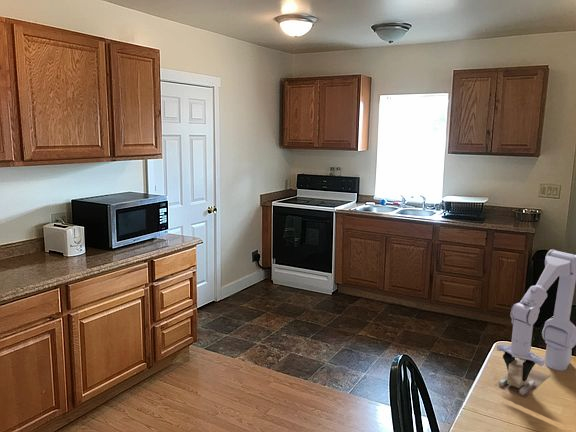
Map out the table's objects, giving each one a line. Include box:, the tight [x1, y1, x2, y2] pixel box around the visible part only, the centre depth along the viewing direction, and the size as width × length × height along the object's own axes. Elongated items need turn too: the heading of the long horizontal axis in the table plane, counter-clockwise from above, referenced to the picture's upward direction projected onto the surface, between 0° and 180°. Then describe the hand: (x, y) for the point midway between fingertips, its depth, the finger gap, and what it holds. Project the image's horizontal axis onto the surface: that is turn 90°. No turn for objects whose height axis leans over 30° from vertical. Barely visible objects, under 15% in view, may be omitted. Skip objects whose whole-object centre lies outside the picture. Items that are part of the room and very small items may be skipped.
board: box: [494, 368, 550, 399], centre depth 161 cm, size 20×10×3 cm, turn 131°
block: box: [507, 358, 527, 388], centre depth 158 cm, size 4×6×7 cm, turn 131°
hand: (517, 377), depth 158 cm, fingers closed on block, 4 cm apart
